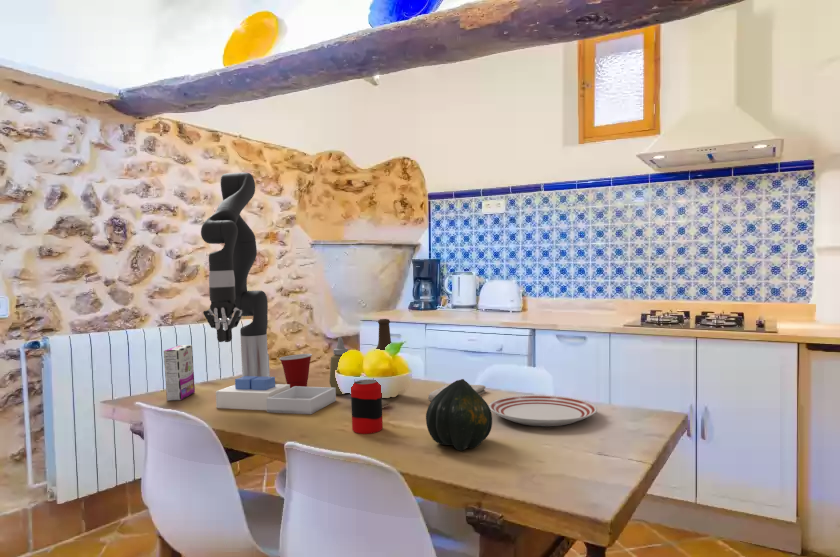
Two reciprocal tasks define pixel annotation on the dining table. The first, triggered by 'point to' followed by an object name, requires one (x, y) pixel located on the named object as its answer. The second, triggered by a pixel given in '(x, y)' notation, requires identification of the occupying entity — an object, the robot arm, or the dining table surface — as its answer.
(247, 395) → the white flat block
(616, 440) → the dining table surface
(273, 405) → the box
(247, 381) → the tile
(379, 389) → the soda can
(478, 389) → the washcloth
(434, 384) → the dining table surface
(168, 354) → the candy bar box
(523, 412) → the dinner plate
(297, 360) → the plastic cup
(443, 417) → the squash
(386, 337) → the beer bottle
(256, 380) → the tile
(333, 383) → the squeeze bottle
